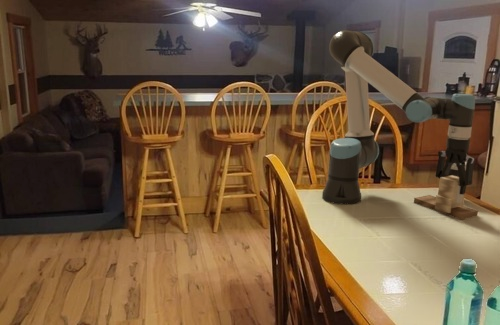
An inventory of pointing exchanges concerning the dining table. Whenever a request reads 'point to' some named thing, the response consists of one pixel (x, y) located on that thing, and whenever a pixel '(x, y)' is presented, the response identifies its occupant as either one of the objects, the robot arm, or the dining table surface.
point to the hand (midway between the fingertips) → (450, 199)
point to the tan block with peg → (448, 194)
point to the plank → (456, 212)
